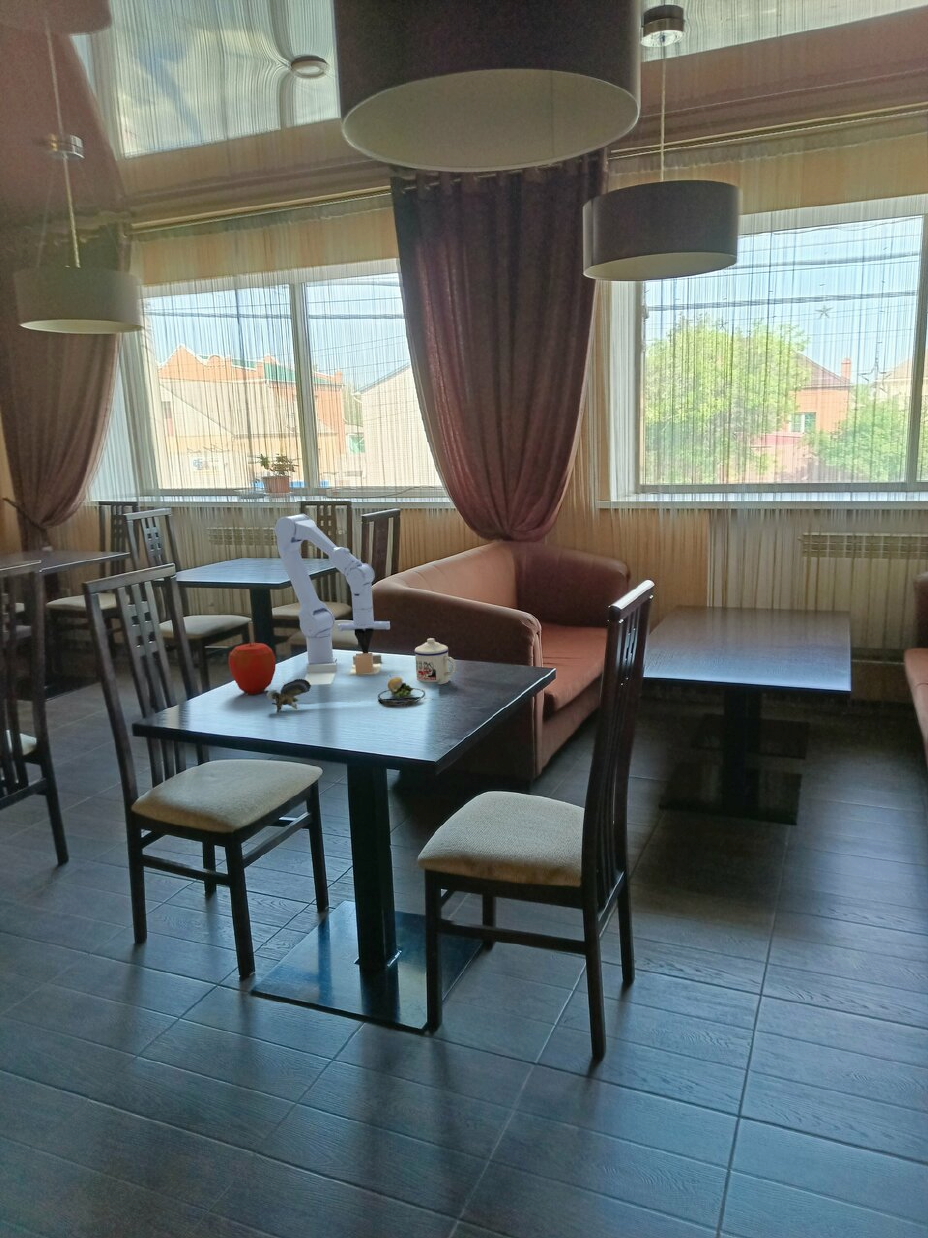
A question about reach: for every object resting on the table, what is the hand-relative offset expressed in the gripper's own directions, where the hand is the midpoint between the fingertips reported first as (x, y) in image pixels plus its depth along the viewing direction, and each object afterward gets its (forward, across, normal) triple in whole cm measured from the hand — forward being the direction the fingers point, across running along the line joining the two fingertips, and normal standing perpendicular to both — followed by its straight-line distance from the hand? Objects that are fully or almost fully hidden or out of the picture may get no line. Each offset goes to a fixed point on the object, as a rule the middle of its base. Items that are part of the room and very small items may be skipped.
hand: (365, 654), depth 247 cm
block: (+3, 0, -8) cm, 8 cm away
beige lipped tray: (+4, 0, -4) cm, 6 cm away
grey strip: (+4, -12, -12) cm, 17 cm away
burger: (+4, +11, -33) cm, 35 cm away
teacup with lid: (+4, +20, -19) cm, 28 cm away
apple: (+4, -28, -19) cm, 34 cm away
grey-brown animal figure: (+4, -16, -35) cm, 39 cm away
